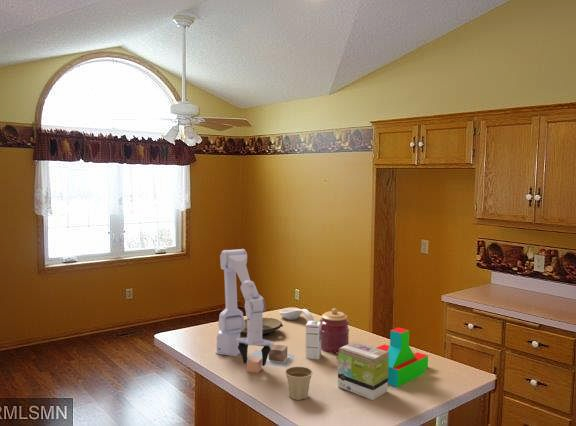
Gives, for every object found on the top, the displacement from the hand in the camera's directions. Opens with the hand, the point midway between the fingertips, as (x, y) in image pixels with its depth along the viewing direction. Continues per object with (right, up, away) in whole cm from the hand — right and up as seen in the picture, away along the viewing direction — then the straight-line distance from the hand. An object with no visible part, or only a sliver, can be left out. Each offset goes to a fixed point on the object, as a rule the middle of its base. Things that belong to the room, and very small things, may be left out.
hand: (254, 363), depth 190 cm
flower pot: (+16, -5, -21) cm, 27 cm away
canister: (+33, -1, +26) cm, 42 cm away
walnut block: (+9, -1, +12) cm, 15 cm away
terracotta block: (0, -3, 0) cm, 3 cm away
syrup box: (+23, -2, +15) cm, 28 cm away
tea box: (+39, -5, -16) cm, 42 cm away
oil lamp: (-4, +1, +47) cm, 47 cm away
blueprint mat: (+6, -2, +12) cm, 13 cm away
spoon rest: (+18, +2, +66) cm, 69 cm away
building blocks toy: (+54, -4, +2) cm, 54 cm away
